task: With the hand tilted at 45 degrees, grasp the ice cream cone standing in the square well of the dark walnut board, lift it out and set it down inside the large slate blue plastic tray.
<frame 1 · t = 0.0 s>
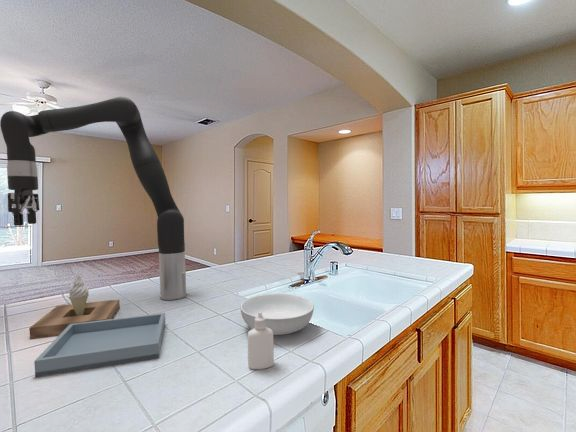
hand: (25, 224, 101), 29 cm above the countertop, tool pointing down, fingers open, 8 cm apart
eye dropper bottle: (260, 366, 67), on the countertop
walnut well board: (80, 321, 93), on the countertop
serving bowl: (277, 328, 87), on the countertop
ice cream cone: (80, 322, 93), resting in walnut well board
slate blue tray: (111, 346, 77), on the countertop
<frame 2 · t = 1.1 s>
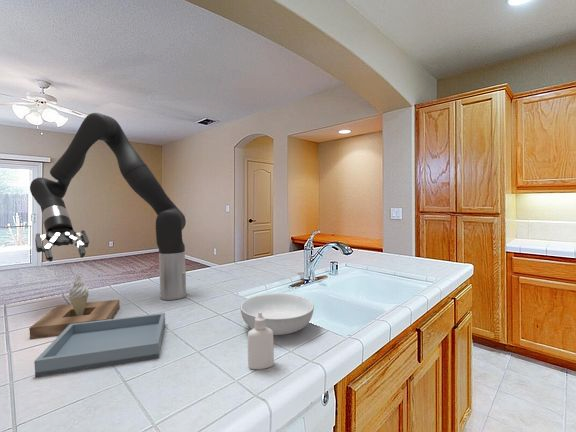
hand: (67, 258, 100), 18 cm above the countertop, tool tilted 45°, fingers open, 8 cm apart
nothing on the countertop moved.
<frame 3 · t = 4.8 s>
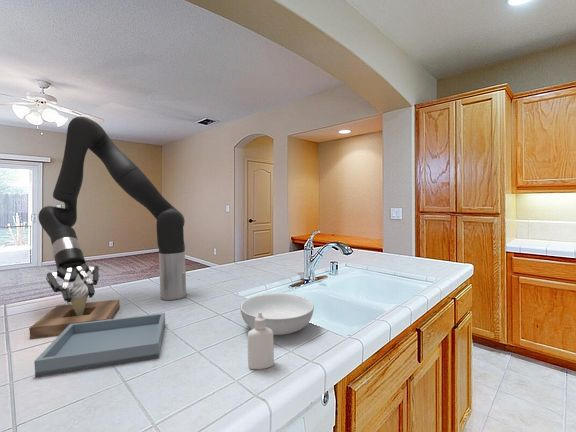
hand: (80, 298, 91), 8 cm above the countertop, tool tilted 45°, fingers closed on ice cream cone, 5 cm apart
ice cream cone: (80, 322, 93), resting in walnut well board, touching gripper
everything else where it was.
when the fingers open (9 cm above the countertop, at t = 13.1 s): ice cream cone stays where it is, resting on slate blue tray.
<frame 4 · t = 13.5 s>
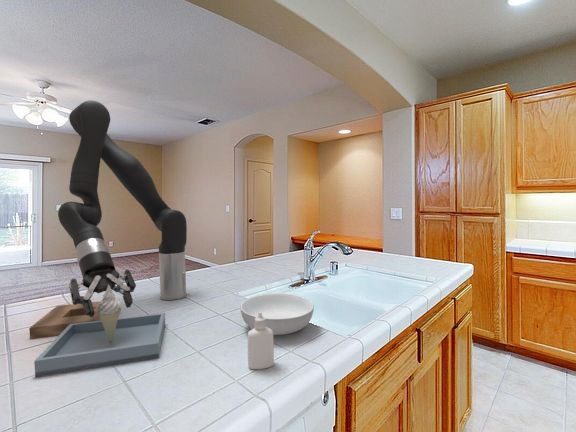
hand: (111, 310, 76), 10 cm above the countertop, tool tilted 45°, fingers open, 8 cm apart
ice cream cone: (111, 342, 77), point 1 cm above the countertop, touching slate blue tray
everything else where it was.
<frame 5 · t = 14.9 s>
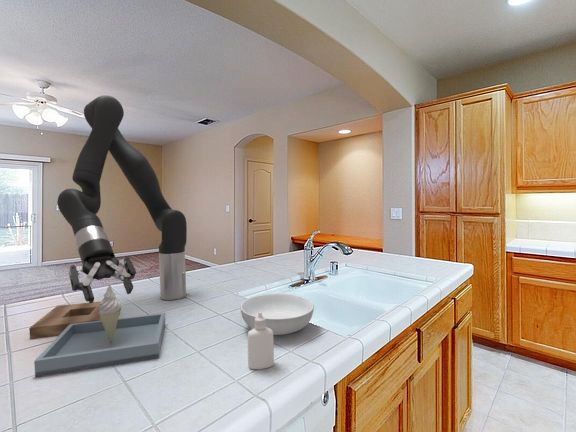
hand: (111, 296, 75), 13 cm above the countertop, tool tilted 45°, fingers open, 8 cm apart
nothing on the countertop moved.
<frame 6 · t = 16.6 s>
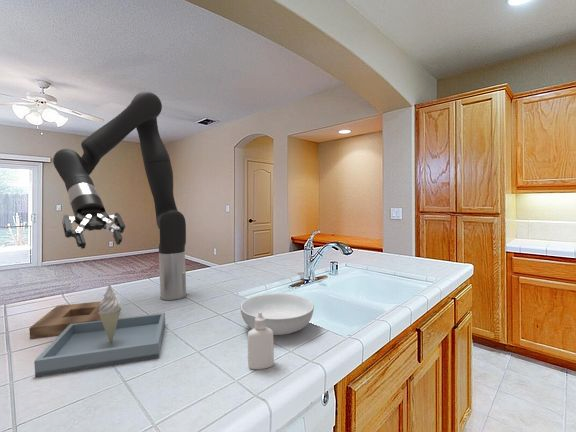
hand: (102, 244, 82), 25 cm above the countertop, tool tilted 45°, fingers open, 8 cm apart
nothing on the countertop moved.
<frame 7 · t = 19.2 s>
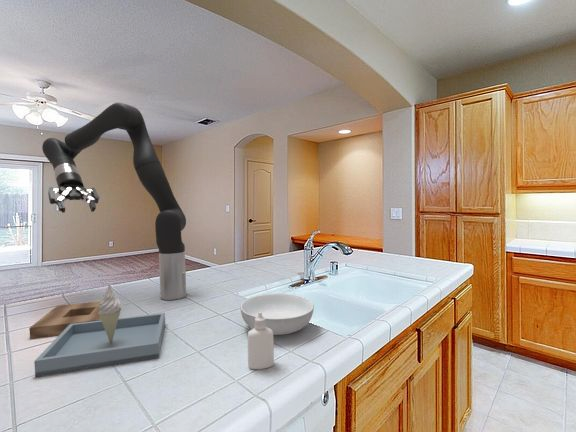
hand: (79, 210, 104), 34 cm above the countertop, tool tilted 45°, fingers open, 8 cm apart
nothing on the countertop moved.
at the end: ice cream cone inside the target area on the slate blue tray (0.2 cm from its centre), point 0.8 cm above the slate blue tray's base; the gripper is holding nothing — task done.
